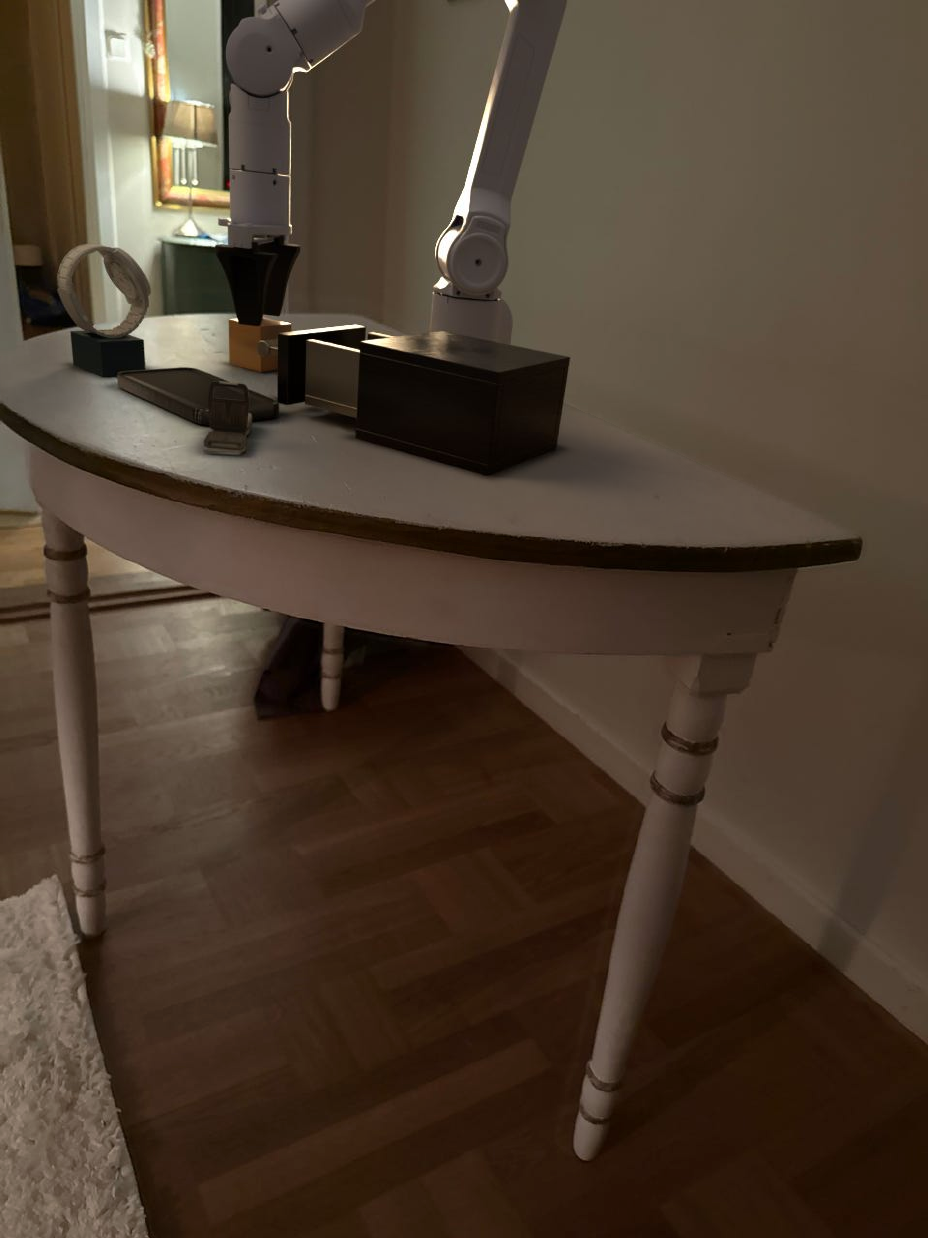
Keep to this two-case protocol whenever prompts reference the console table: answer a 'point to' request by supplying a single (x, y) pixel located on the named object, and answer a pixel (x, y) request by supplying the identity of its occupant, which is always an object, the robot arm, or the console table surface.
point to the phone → (190, 392)
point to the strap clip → (228, 420)
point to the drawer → (319, 366)
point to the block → (253, 343)
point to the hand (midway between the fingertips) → (260, 319)
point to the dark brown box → (460, 399)
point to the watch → (114, 346)
